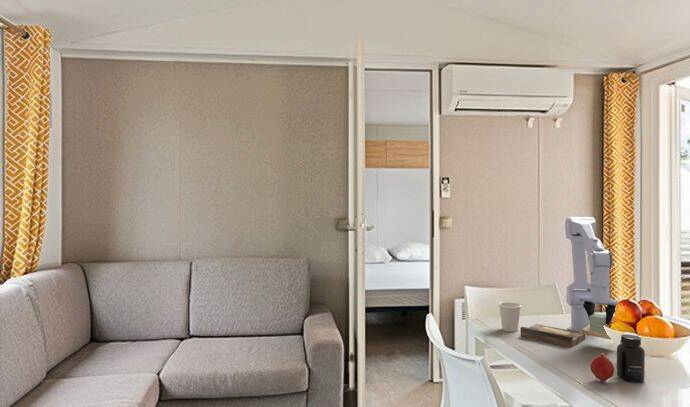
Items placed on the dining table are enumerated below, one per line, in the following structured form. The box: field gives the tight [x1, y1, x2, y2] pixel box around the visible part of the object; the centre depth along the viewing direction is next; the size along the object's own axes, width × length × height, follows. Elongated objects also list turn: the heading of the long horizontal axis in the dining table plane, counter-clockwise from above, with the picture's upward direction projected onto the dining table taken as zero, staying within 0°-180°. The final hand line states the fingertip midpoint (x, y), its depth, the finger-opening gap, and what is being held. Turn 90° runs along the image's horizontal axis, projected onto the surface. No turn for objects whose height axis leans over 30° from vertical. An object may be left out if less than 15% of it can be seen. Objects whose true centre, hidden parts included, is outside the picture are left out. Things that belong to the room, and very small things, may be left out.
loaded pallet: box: [581, 311, 612, 340], centre depth 158 cm, size 9×9×6 cm
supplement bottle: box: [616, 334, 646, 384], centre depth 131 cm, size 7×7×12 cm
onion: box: [590, 353, 615, 383], centre depth 129 cm, size 6×6×8 cm
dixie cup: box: [498, 301, 522, 333], centre depth 181 cm, size 8×8×10 cm
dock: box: [519, 323, 586, 348], centre depth 170 cm, size 14×18×4 cm
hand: (600, 325), depth 158 cm, fingers closed on loaded pallet, 4 cm apart
